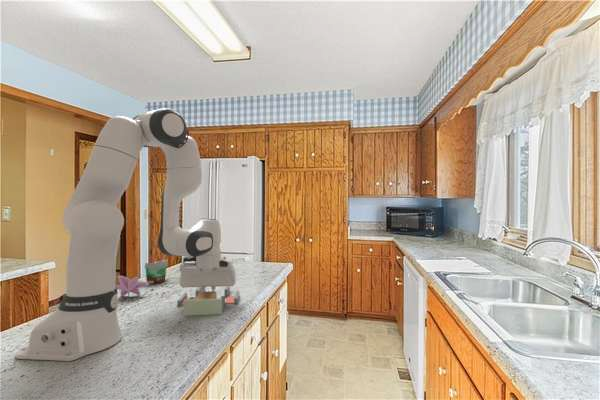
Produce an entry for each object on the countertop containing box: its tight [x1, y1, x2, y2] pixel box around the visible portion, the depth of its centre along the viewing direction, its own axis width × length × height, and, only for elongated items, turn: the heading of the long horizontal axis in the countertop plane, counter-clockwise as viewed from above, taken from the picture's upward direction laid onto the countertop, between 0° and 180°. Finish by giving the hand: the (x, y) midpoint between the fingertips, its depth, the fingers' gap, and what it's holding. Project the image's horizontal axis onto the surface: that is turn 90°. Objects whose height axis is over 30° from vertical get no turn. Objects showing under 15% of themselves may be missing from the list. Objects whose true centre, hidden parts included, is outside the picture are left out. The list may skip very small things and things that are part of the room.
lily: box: [116, 275, 150, 302], centre depth 117 cm, size 12×12×10 cm
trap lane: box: [176, 286, 240, 316], centre depth 114 cm, size 22×26×5 cm
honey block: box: [195, 290, 217, 299], centre depth 107 cm, size 6×8×5 cm
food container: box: [144, 257, 169, 285], centre depth 140 cm, size 12×6×10 cm, turn 168°
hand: (208, 298), depth 112 cm, fingers closed
